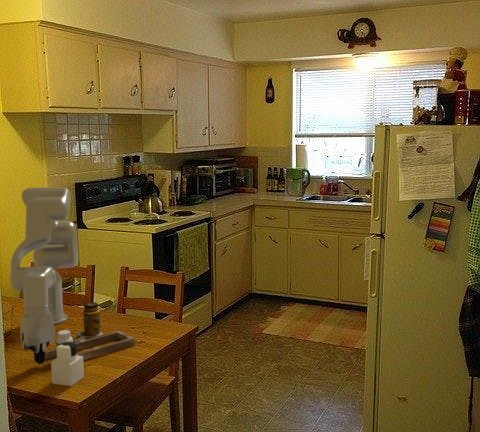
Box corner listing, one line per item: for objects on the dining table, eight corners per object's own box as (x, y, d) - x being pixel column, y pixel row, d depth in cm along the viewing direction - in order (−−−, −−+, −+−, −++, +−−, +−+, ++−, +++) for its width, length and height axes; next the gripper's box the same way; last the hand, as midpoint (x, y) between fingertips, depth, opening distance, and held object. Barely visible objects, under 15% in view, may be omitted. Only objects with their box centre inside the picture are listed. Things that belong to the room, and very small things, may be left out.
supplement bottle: (53, 360, 188) (52, 333, 186) (64, 355, 193) (63, 328, 191) (66, 363, 186) (65, 335, 185) (77, 357, 191) (75, 330, 190)
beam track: (40, 355, 192) (40, 348, 192) (114, 334, 212) (114, 327, 212) (59, 368, 182) (58, 360, 182) (135, 344, 202) (134, 337, 202)
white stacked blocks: (65, 374, 178) (63, 338, 176) (84, 377, 176) (82, 341, 174) (51, 383, 171) (49, 347, 169) (71, 386, 169) (69, 349, 167)
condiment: (103, 334, 213) (102, 304, 211) (82, 339, 208) (80, 308, 206) (97, 329, 219) (96, 299, 217) (76, 333, 214) (74, 303, 212)
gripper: (53, 302, 188) (56, 353, 191) (9, 312, 178) (12, 365, 181) (63, 307, 183) (66, 359, 185) (18, 317, 173) (22, 372, 175)
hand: (39, 362), depth 183 cm, fingers closed
